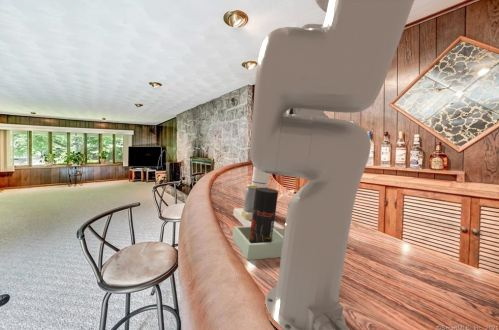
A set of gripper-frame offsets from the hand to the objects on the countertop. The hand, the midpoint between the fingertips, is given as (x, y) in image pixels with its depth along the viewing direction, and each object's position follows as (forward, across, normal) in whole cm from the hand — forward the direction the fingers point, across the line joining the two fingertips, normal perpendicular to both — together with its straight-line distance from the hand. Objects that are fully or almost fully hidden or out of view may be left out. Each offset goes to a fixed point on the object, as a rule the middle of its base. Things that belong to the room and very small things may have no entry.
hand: (301, 140), depth 67 cm
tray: (+30, -13, -6) cm, 34 cm away
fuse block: (+30, -7, +10) cm, 33 cm away
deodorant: (+30, -13, -7) cm, 33 cm away
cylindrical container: (+31, 0, +25) cm, 39 cm away
